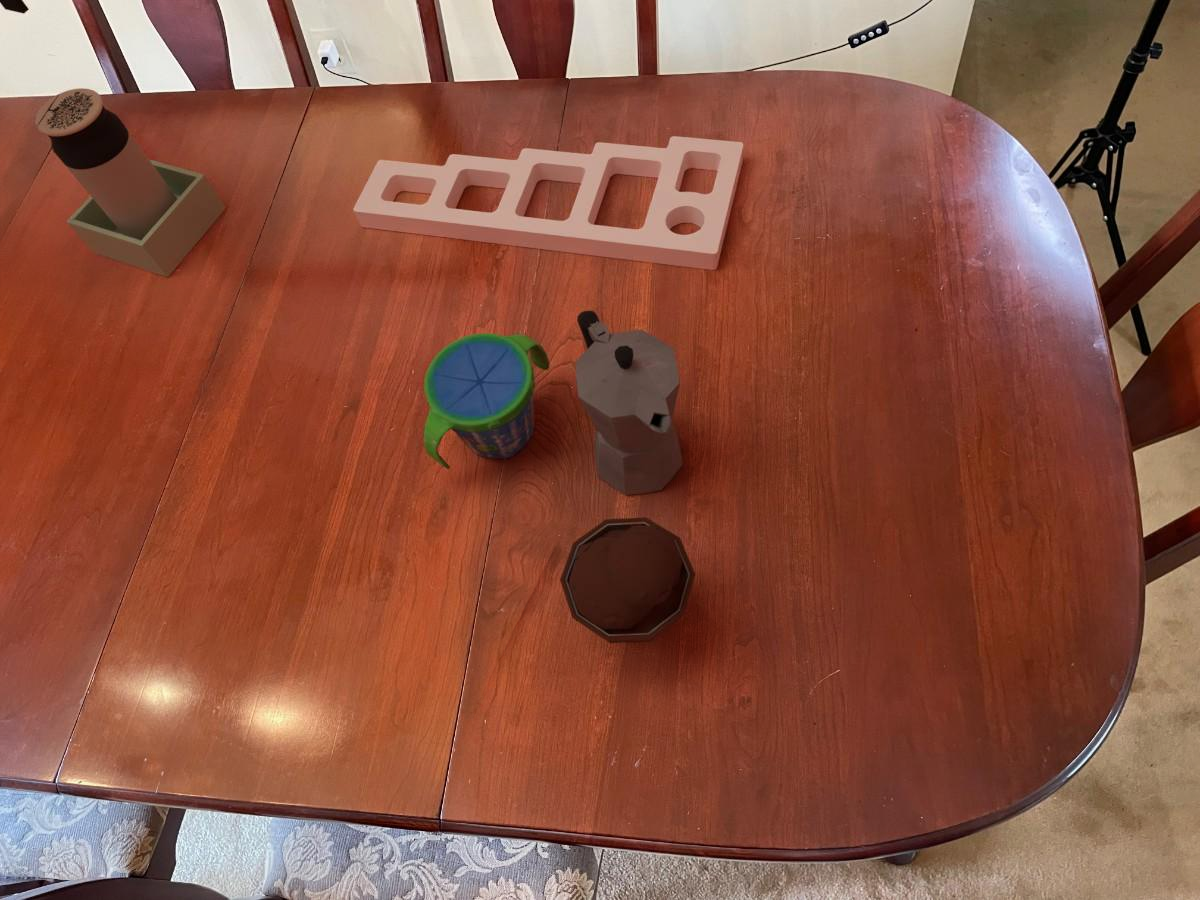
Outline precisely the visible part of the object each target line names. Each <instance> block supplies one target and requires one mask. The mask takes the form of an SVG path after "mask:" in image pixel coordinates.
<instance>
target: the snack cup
mask: <svg viewBox="0 0 1200 900" xmlns="http://www.w3.org/2000/svg"><path fill="white" fill-rule="evenodd" d="M528 354H529V356H528ZM531 361H532V362H531ZM533 364H534V366H536V367H537V368H539V369H541V370H543V371H548V370H549V369H550V365H551V364H550V359H549V357H548V353H547V352H546V350H545V349H544V347H543V346H542V345H541V344H540V343H539V342H537V341H536V340H534V339H533V338H531V337H530V336H527V335H525V334H521V333H518V334H517V333H516V334H511V335H507V336H504V335H501V334H497V333H490V332H482V333H474V334H469V335H466V336H463V337H461V338H459V339H456V340H454V341H452V342H450V343H449V344H447V345H446V346H445V347H443V348H442V349H441V350H440V351H439V352H438V353H437V354H436V356H435V357H434V358H432V360H431V362H430V364H429V366H428V368H427V370H426V372H425V375H424V384H423V386H424V387H423V388H424V394H425V399H426V401H427V404H428V406H429V411H428V414H427V418H426V421H425V423H424V431H423V445H424V449H425V452H426V454H427V455H428V456H429V457H430V458H432V459H433V460H434V461H435V462H437V463H438V464H439V465H441V466H442V467H444V468H445V469H447V470H450V469H451V466H450V465H449V464H448V463H447V461H445V460H444V458H443V457H442V456H441V455H440V453H439V451H438V448H439V446H440V444H441V441H442V439H443V437H444V435H445V434H447V432H449V431H450V430H451V431H452V432H453V433H455V434H456V435H457V436H458V438H459V439H460V440H461V442H463V443H464V444H465V446H466V447H467V448H468V449H469V450H471V451H472V452H473V453H474V454H475V455H477V456H481V457H484V458H487V459H494V460H497V459H502V458H503V459H506V458H507V459H509V458H510V457H513V456H514V455H515V454H517V453H518V452H519V451H520V450H522V449H524V447H525V446H526V445H527V444H528V442H529V441H530V439H531V437H532V436H533V435H534V429H535V407H534V400H533V399H534V394H533V393H534V391H535V387H536V382H535V372H534V367H533Z"/></svg>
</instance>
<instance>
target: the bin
mask: <svg viewBox="0 0 1200 900" xmlns="http://www.w3.org/2000/svg"><path fill="white" fill-rule="evenodd" d="M148 159H149V158H148ZM149 160H150V162H151V163H152V164H153V166H154V167H155V169H156V170H157V171H158V173H159V174H160V176H161V177H162V178H163V180H164V181H165V182H166V184H167V185H168V187H169V188H170V189H171V191H172V192H173V194H174V195H175V196H176V198H177V200H176V202H175V203H174V204H173V205H172V206H171V207H170V208H169V209H168V211H167V212H166V213H165V214H164V215H163V216H162V217H161V219H160V220H159V221H158V222H157V223H156V224H155V225H154V227H153V228H152V229H151V230H150V231H149V232H148V233H147V234H146V236H145V237H144V238H143V239H142V240H138V239H135V238H132V237H128V236H125V235H123V234H122V233H121V231H120V230H119V229H118V228H117V227H116V225H115V224H114V223H113V222H112V221H111V219H110V218H109V217H108V216H107V215H106V213H105V212H104V211H103V210H102V209H101V207H100V206H99V205H98V204H97V203H96V202H95V200H94V199H93V198H92V197H91V196H90V195H89V196H88V198H86V200H85V201H84V202H83V203H82V204H81V205H80V206H79V207H78V208H77V210H76V211H74V212H73V214H71V215H70V217H69V218H68V219H67V220H66V224H68V226H69V227H70V228H71V229H72V230H73V231H74V233H76V235H77V236H78V237H79V239H81V240H82V241H83V242H84V243H85V245H86V246H87V247H88V248H89V249H90V250H91V251H92V252H93V254H95V255H99V256H101V257H105V258H107V259H111V260H114V261H116V262H120V263H123V264H125V265H129V266H131V267H135V268H138V269H142V270H144V271H147V272H149V273H153V274H156V275H158V276H159V275H160V276H162V277H165V278H169V277H170V276H171V275H172V274H173V272H174V271H175V270H176V269H177V268H178V266H179V265H180V264H181V263H182V262H183V260H185V258H186V257H187V255H188V254H189V253H190V252H191V251H192V249H193V248H195V246H196V245H197V244H198V243H199V242H200V240H201V239H202V238H203V236H205V234H206V233H207V232H208V231H209V230H210V228H211V227H212V226H213V225H214V223H216V221H217V220H218V219H219V217H221V215H222V214H223V213H224V212H225V210H226V209H227V207H226V205H225V204H224V202H223V200H222V199H221V198H220V196H219V195H218V193H217V192H216V190H215V189H214V187H213V186H212V184H211V183H210V181H209V180H208V178H207V176H206V175H205V174H203V173H200V172H196V171H193V170H189V169H185V168H181V167H178V166H174V165H170V164H167V163H165V162H160V161H157V160H154V159H149Z"/></svg>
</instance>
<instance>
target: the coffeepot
mask: <svg viewBox="0 0 1200 900" xmlns="http://www.w3.org/2000/svg"><path fill="white" fill-rule="evenodd" d="M576 321H577V323H578V326H579V329H580V332H581V334H582V337H583V339H584V342H585V346H586V350H585V351H584V352H583V353H582V355H580V357H578V358H577V360H575V362H574V367H575V368H574V369H575V377H576V386H577V387H576V388H577V397H578V399H579V401H580V403H581V405H582V407H583V408H584V411H585V412H586V414H587V416H588V418H589V420H590V422H591V423H592V425H593V427H594V429H595V434H594V435H595V436H594V445H593V446H594V455H595V465H596V475H597V477H598V478H600V479H601V480H602V481H604V482H605V483H606V484H608V485H609V486H610V487H611V488H613V489H615V490H616V491H619V492H620V493H622V494H623V495H625V496H630V495H631V496H632V495H645V494H649V493H654V492H659V491H662V490H663V489H664V488H665V487H666V485H668V484H669V482H670V481H672V479H673V478H674V477H675V476H676V473H677V472H678V471H679V470H680V469H681V468H682V467H683V465H684V464H683V463H684V462H683V456H682V452H681V446H680V445H681V444H680V439H679V434H678V431H677V429H676V426H675V423H674V421H673V417H674V411H675V407H676V403H677V398H678V394H679V390H680V386H681V385H680V384H681V382H680V381H681V380H680V376H679V370H678V365H677V358H676V353H675V352H676V351H675V348H674V347H673V346H670V345H669V344H667V343H665V342H664V341H662V340H660V339H658V338H657V337H656V336H653V335H652V334H650V333H648V332H646V331H645V330H644V329H635V330H628V331H627V330H626V331H620V332H614V333H611V331H610V330H609V329H608V326H606V324H605V323H604V322H603V320H601V321H600V319H599V316H598V314H597V313H596V312H595V311H594V310H583V311H581V312H580V313H578V315H577V319H576Z"/></svg>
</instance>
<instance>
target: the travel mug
mask: <svg viewBox="0 0 1200 900" xmlns="http://www.w3.org/2000/svg"><path fill="white" fill-rule="evenodd" d="M34 119H35V120H34V123H35V127H36V129H37V130H38V131H39V132H40V133H41V134H43V135H45V136H48V138H50V142H51V148H52V151H53V153H54V154H55V155H56V156H57V158H58V159H59V160H60V161H61V162H62V163H63V165H64V166H65V168H67V169H68V171H69V172H70V173H71V174H72V175H73V176H74V178H75V179H76V180H77V181H78V183H79V184H80V185H81V186H82V187H83V188H84V190H85V191H86V192H87V193H88V194H89V197H90V196H91V197H92V198H93V199H94V200H95V202H96V203H97V204H98V205H99V206H100V207H101V209H102V210H103V211H104V212H105V213H106V215H107V216H108V217H109V218H110V219H111V221H112V222H113V223H114V224H115V225H116V227H117V228H118V229H119V230H120V231H121V233H122V234H123V235H125V236H128V237H132V238H135V239H138V240H142V239H143V238H144V237H145V236H146V234H147V233H148V232H149V231H150V230H151V229H152V228H153V227H154V225H155V224H156V223H157V222H158V221H159V220H160V219H161V217H162V216H163V215H164V214H165V213H166V212H167V211H168V209H169V208H170V207H171V206H172V205H173V204H174V203H175V202H176V200H177V198H176V196H175V195H174V194H173V192H172V191H171V189H170V188H169V187H168V185H167V184H166V182H165V181H164V180H163V178H162V177H161V176H160V174H159V173H158V171H157V170H156V169H155V167H154V166H153V164H152V163H151V162H150V160H151V159H150V160H149V158H148V156H147V155H146V153H145V152H144V150H143V149H142V147H141V146H140V145H139V143H138V142H137V141H136V139H135V138H134V137H133V135H132V134H131V132H130V131H129V130H128V128H127V127H126V125H125V124H124V123H123V122H122V120H121V118H120V117H119V116H118V115H117V114H116V113H114V112H112V111H110V110H109V109H106V108H105V105H104V101H103V98H102V96H101V95H100V94H99V93H98V92H97V91H96V90H93V89H89V88H83V87H81V88H73V89H68V90H66V91H65V90H64V91H62V92H60V93H58V94H56V95H54V96H53V97H51V98H49V99H48V100H47V101H46V102H44V104H42V105H41V107H40V108H39V109H38V111H37V113H36V115H35V118H34Z"/></svg>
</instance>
